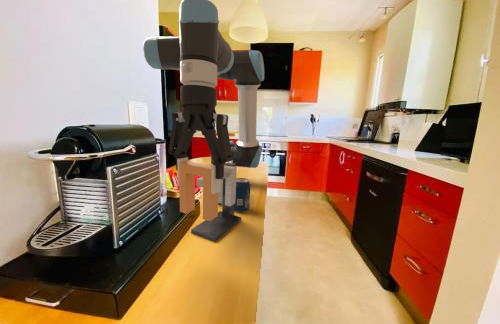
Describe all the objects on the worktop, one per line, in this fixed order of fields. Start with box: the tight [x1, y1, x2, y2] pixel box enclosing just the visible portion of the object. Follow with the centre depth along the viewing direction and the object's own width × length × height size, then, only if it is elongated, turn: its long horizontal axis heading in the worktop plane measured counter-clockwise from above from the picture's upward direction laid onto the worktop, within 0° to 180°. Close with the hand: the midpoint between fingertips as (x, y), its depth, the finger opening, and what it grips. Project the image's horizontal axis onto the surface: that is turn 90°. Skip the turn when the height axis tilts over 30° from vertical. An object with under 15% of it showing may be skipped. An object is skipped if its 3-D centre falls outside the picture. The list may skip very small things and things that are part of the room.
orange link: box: [179, 160, 219, 221], centre depth 47 cm, size 3×9×12 cm, turn 63°
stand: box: [190, 162, 242, 243], centre depth 63 cm, size 16×9×20 cm, turn 153°
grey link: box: [207, 163, 238, 206], centre depth 65 cm, size 3×9×12 cm, turn 63°
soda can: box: [234, 177, 251, 213], centre depth 78 cm, size 7×7×12 cm
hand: (198, 188), depth 47 cm, fingers closed on orange link, 9 cm apart
